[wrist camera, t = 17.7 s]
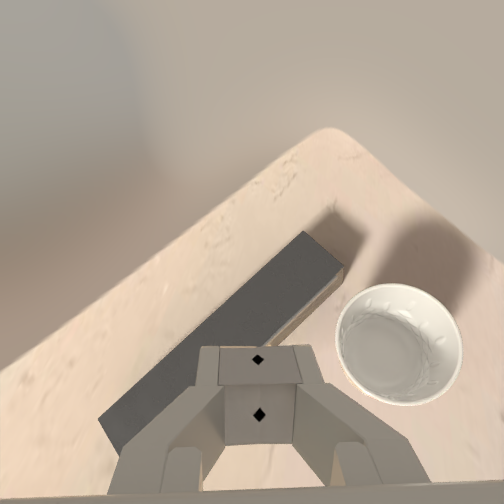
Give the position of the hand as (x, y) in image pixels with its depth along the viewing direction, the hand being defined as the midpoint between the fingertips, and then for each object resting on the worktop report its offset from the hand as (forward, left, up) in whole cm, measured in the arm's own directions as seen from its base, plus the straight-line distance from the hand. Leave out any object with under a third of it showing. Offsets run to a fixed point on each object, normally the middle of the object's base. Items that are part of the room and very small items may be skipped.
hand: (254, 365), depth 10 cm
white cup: (-2, -7, -26) cm, 27 cm away
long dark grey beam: (+7, +2, -25) cm, 26 cm away
